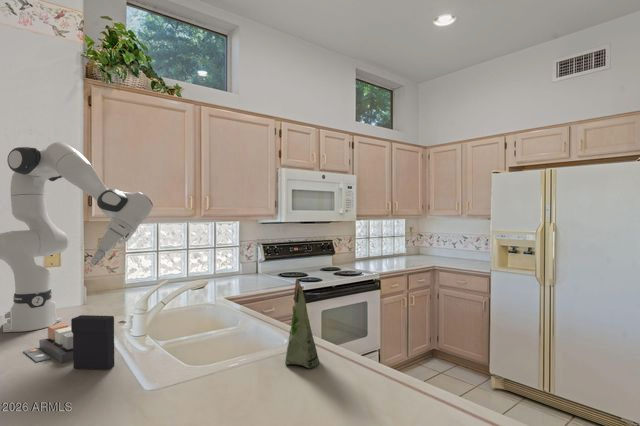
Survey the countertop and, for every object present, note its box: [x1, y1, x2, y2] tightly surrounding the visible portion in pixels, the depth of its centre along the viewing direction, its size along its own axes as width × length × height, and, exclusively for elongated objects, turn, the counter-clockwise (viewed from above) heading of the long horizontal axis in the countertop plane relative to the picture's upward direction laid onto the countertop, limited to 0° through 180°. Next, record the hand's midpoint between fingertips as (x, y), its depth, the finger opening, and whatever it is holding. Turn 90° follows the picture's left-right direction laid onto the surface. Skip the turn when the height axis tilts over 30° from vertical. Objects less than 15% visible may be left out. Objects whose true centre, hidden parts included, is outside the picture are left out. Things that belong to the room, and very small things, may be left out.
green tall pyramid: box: [285, 277, 320, 369], centre depth 110 cm, size 11×12×25 cm
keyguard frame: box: [39, 337, 73, 364], centre depth 121 cm, size 22×9×2 cm, turn 52°
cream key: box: [55, 326, 72, 344], centre depth 121 cm, size 5×5×4 cm
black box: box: [70, 314, 115, 371], centre depth 108 cm, size 11×4×15 cm, turn 84°
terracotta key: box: [47, 322, 69, 340], centre depth 125 cm, size 5×5×4 cm
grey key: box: [62, 332, 73, 349], centre depth 117 cm, size 5×5×4 cm
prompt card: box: [22, 347, 51, 363], centre depth 117 cm, size 14×4×1 cm, turn 52°
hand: (92, 263), depth 127 cm, fingers open, 8 cm apart
